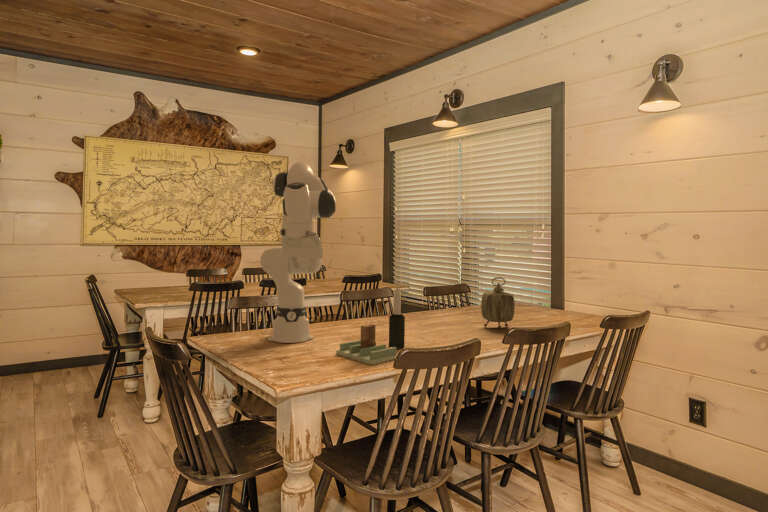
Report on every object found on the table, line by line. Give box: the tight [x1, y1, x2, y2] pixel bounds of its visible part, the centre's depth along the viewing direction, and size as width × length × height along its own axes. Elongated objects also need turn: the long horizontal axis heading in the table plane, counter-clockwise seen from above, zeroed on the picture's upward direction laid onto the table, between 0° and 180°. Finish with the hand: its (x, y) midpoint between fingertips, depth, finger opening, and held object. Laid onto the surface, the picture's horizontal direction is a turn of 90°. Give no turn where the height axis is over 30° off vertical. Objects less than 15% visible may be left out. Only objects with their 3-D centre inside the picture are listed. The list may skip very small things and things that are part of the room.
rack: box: [335, 339, 398, 366], centre depth 179 cm, size 14×20×4 cm
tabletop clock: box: [480, 276, 516, 329], centre depth 237 cm, size 14×9×25 cm, turn 97°
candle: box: [388, 284, 406, 349], centre depth 194 cm, size 5×5×25 cm
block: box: [360, 323, 376, 349], centre depth 179 cm, size 5×2×10 cm, turn 133°
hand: (303, 270), depth 168 cm, fingers open, 8 cm apart
